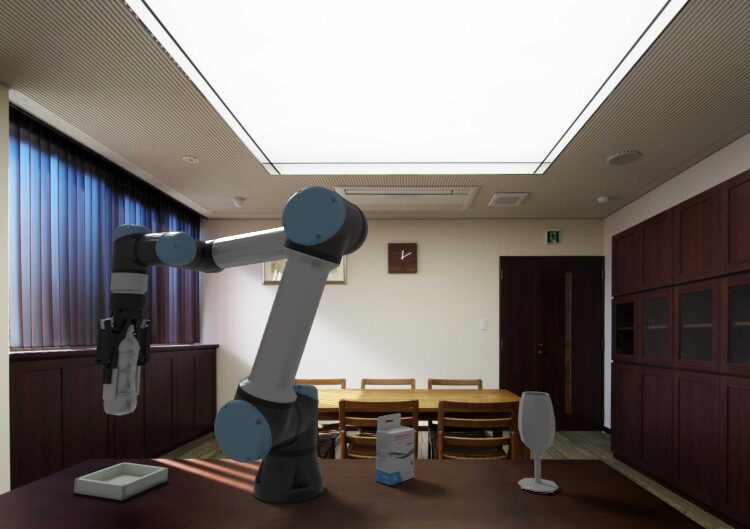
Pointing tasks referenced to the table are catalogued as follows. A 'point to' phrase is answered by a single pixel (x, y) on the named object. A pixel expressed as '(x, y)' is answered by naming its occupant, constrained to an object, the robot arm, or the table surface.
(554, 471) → the table surface
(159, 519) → the table surface
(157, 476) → the tray
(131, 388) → the plastic bottle
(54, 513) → the table surface
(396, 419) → the ink box
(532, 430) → the wineglass
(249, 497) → the table surface
